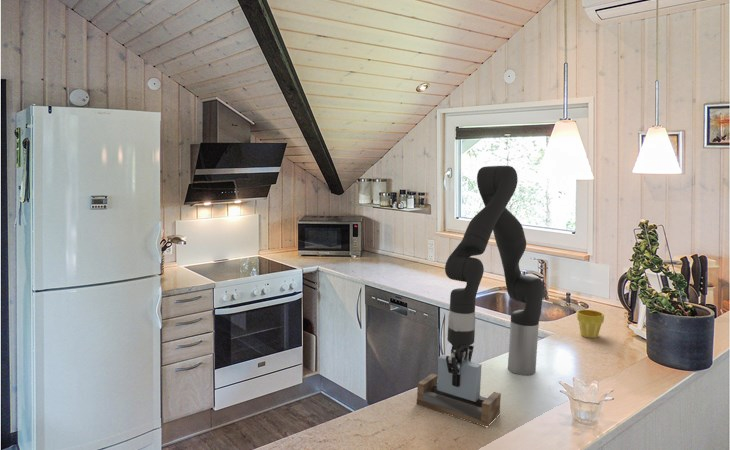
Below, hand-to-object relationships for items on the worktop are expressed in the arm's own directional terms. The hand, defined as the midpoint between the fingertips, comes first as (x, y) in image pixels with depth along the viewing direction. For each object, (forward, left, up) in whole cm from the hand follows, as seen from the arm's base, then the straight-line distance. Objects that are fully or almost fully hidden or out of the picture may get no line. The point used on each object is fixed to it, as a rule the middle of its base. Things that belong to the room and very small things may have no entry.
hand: (458, 383), depth 150 cm
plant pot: (-94, +15, -8) cm, 96 cm away
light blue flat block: (0, 0, -3) cm, 3 cm away
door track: (0, 0, -8) cm, 8 cm away
